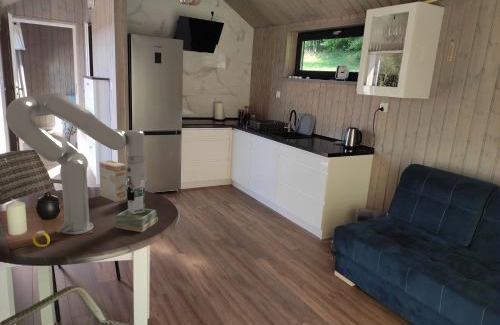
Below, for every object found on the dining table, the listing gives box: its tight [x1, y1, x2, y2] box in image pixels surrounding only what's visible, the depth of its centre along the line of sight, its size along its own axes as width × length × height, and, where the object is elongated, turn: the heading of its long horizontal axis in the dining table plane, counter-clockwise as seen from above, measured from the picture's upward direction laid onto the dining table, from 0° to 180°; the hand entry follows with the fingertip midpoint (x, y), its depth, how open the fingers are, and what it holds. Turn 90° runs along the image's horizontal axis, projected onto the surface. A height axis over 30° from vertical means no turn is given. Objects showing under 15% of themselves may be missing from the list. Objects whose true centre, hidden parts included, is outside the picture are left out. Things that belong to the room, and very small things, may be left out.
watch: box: [32, 230, 51, 248], centre depth 139 cm, size 6×3×6 cm, turn 88°
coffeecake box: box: [98, 159, 128, 203], centre depth 197 cm, size 15×7×20 cm, turn 52°
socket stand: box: [114, 208, 159, 233], centre depth 164 cm, size 14×14×6 cm
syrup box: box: [127, 180, 146, 214], centre depth 162 cm, size 6×6×14 cm
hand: (136, 197), depth 162 cm, fingers closed on syrup box, 7 cm apart
